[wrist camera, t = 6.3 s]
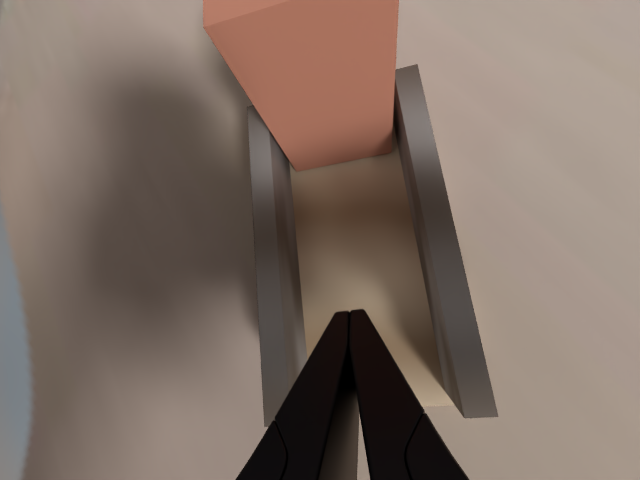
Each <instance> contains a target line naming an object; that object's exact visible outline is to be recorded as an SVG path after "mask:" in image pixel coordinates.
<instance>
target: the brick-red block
mask: <svg viewBox="0 0 640 480" xmlns="http://www.w3.org/2000/svg"><path fill="white" fill-rule="evenodd" d="M398 7H399V0H203V27H204V29H205V30H206V32H207V33H208V35H209V37H210V38H211V40H212V41H213V43H214V44H215V46H216V47H217V49H218V51H219V52H220V54H221V55H222V57H223V58H224V60H225V61H226V63H227V65H228V66H229V68H230V69H231V71H232V72H233V74H234V75H235V77H236V79H237V80H238V82H239V83H240V85H241V86H242V88H243V89H244V91H245V92H246V94H247V96H248V97H249V99H250V100H251V102H252V103H253V105H254V106H255V108H256V110H257V111H258V113H259V114H260V116H261V117H262V119H263V120H264V122H265V124H266V125H267V127H268V128H269V130H270V131H271V133H272V134H273V136H274V137H275V139H276V141H277V142H278V144H279V145H280V147H281V148H282V150H283V151H284V153H285V155H286V156H287V158H288V159H289V161H290V162H291V164H292V165H293V167H294V169H295V170H296V172H298V171H303V170H308V169H313V168H317V167H322V166H327V165H332V164H337V163H342V162H347V161H352V160H357V159H362V158H367V157H372V156H377V155H382V154H387V153H391V148H392V128H393V108H394V87H395V67H396V47H397V27H398Z"/></svg>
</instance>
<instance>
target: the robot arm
mask: <svg viewBox="0 0 640 480" xmlns="http://www.w3.org/2000/svg"><path fill="white" fill-rule="evenodd" d="M359 413H360V419H361V425H362V431H363V437H364V443H365V450H366V456H367V462H368V468H369V474H370V480H469V478H468V477H467V476H466V474H465V473H464V471H463V470H462V468H461V467H460V466H459V464H458V463H457V461H456V460H455V459H454V457H453V456H452V454H451V453H450V451H449V449H448V448H447V446H446V445H445V443H444V442H443V440H442V438H441V437H440V435H439V434H438V432H437V431H436V429H435V427H434V426H433V424H432V422H431V420H430V419H429V417H428V415H427V414H426V413H425V411H424V409H423V407H422V406H421V404H420V402H419V401H418V399H417V397H416V395H415V394H414V392H413V390H412V389H411V387H410V385H409V384H408V382H407V380H406V379H405V377H404V375H403V374H402V372H401V370H400V368H399V367H398V365H397V363H396V362H395V360H394V358H393V357H392V355H391V353H390V352H389V350H388V348H387V346H386V345H385V343H384V341H383V340H382V338H381V336H380V335H379V333H378V331H377V330H376V328H375V326H374V325H373V323H372V321H371V319H370V318H369V316H368V314H367V313H366V311H365V310H364V309H356V310H351V311H350V312H349V311H338V312H335V313H334V315H333V317H332V318H331V320H330V322H329V324H328V325H327V327H326V329H325V331H324V332H323V334H322V336H321V337H320V339H319V341H318V343H317V344H316V346H315V348H314V350H313V351H312V353H311V355H310V357H309V358H308V360H307V362H306V363H305V365H304V367H303V369H302V370H301V372H300V374H299V376H298V377H297V379H296V381H295V383H294V384H293V386H292V388H291V389H290V391H289V393H288V395H287V396H286V398H285V400H284V402H283V403H282V405H281V407H280V409H279V410H278V412H277V414H276V416H275V418H274V419H275V420H273V421H272V422H271V424H270V426H269V427H268V429H267V431H266V433H265V434H264V436H263V438H262V439H261V441H260V443H259V444H258V446H257V448H256V449H255V451H254V452H253V454H252V456H251V457H250V459H249V460H248V462H247V463H246V465H245V466H244V468H243V469H242V471H241V472H240V474H239V475H238V477H237V478H236V480H357V463H358V432H359Z"/></svg>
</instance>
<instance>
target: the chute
mask: <svg viewBox="0 0 640 480" xmlns="http://www.w3.org/2000/svg"><path fill="white" fill-rule="evenodd" d="M247 114H248V133H249V151H250V169H251V188H252V206H253V225H254V243H255V261H256V280H257V298H258V317H259V335H260V353H261V372H262V390H263V409H264V427H269V426H270V424H271V422H272V421H273V420H275V419H274V418H275V416H276V414H277V412H278V410H279V409H280V407H281V405H282V403H283V402H284V400H285V398H286V396H287V395H288V393H289V391H290V389H291V388H292V386H293V384H294V383H295V381H296V379H297V377H298V376H299V374H300V372H301V370H302V369H303V367H304V365H305V363H306V362H307V360H308V358H309V357H310V355H311V353H312V351H313V350H314V348H315V346H316V344H317V343H318V341H319V339H320V337H321V336H322V334H323V332H324V331H325V329H326V327H327V325H328V324H329V322H330V320H331V318H332V317H333V315H334V313H335V312H338V311H349V312H350V311H351V310H356V309H364V310H365V311H366V313H367V314H368V316H369V318H370V319H371V321H372V323H373V325H374V326H375V328H376V330H377V331H378V333H379V335H380V336H381V338H382V340H383V341H384V343H385V345H386V346H387V348H388V350H389V352H390V353H391V355H392V357H393V358H394V360H395V362H396V363H397V365H398V367H399V368H400V370H401V372H402V374H403V375H404V377H405V379H406V380H407V382H408V384H409V385H410V387H411V389H412V390H413V392H414V394H415V395H416V397H417V399H418V401H419V402H420V404H421V406H422V407H425V406H445V405H455V406H456V407H457V409H458V410H459V411H460V413H461V414H462V415H463V417H464V418H481V417H498V413H497V409H496V404H495V400H494V396H493V391H492V387H491V383H490V378H489V374H488V370H487V365H486V361H485V356H484V352H483V348H482V343H481V339H480V335H479V330H478V326H477V322H476V317H475V313H474V309H473V304H472V300H471V296H470V291H469V287H468V283H467V278H466V274H465V269H464V265H463V261H462V256H461V252H460V248H459V243H458V239H457V235H456V230H455V226H454V222H453V217H452V213H451V209H450V204H449V200H448V196H447V191H446V187H445V182H444V178H443V174H442V169H441V165H440V161H439V156H438V152H437V148H436V143H435V139H434V135H433V130H432V126H431V122H430V117H429V113H428V109H427V104H426V100H425V95H424V91H423V87H422V82H421V78H420V74H419V69H418V65H417V64H416V65H412V66H408V67H404V68H400V69H396V70H395V87H394V108H393V128H392V148H391V153H387V154H382V155H377V156H372V157H367V158H362V159H357V160H352V161H347V162H342V163H337V164H332V165H327V166H322V167H317V168H313V169H308V170H303V171H298V172H296V170H295V169H294V167H293V165H292V164H291V162H290V161H289V159H288V158H287V156H286V155H285V153H284V151H283V150H282V148H281V147H280V145H279V144H278V142H277V141H276V139H275V137H274V136H273V134H272V133H271V131H270V130H269V128H268V127H267V125H266V124H265V122H264V120H263V119H262V117H261V116H260V114H259V113H258V111H257V110H256V108H255V106H254V105H253V106H249V107H247Z"/></svg>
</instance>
